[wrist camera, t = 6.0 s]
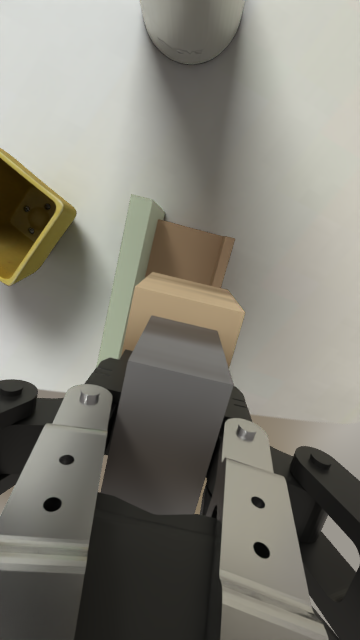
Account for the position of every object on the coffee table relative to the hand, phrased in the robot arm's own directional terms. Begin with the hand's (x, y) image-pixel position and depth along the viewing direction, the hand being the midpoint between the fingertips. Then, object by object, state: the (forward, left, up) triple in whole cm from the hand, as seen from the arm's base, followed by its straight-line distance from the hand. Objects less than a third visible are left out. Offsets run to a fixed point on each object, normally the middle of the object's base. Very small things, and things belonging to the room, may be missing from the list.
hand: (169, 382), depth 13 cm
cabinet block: (0, 0, -7) cm, 7 cm away
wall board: (0, -1, -23) cm, 23 cm away
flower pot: (-4, -17, -23) cm, 29 cm away
